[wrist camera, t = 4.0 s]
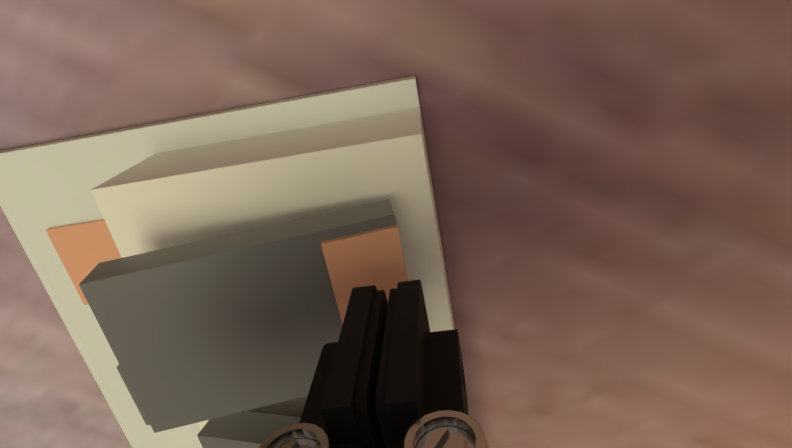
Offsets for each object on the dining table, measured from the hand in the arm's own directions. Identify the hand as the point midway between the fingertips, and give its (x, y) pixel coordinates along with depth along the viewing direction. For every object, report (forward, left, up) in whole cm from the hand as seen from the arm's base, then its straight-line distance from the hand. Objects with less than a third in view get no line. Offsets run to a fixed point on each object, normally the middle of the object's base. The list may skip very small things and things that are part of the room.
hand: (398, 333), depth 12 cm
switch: (+4, 0, -2) cm, 4 cm away
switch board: (+7, +7, -8) cm, 13 cm away
